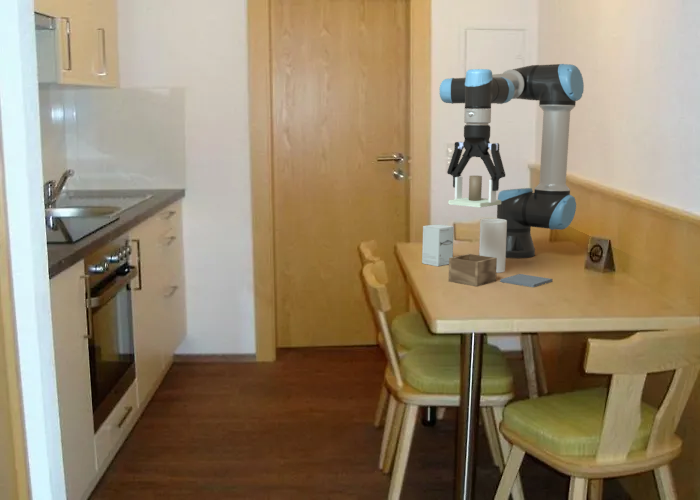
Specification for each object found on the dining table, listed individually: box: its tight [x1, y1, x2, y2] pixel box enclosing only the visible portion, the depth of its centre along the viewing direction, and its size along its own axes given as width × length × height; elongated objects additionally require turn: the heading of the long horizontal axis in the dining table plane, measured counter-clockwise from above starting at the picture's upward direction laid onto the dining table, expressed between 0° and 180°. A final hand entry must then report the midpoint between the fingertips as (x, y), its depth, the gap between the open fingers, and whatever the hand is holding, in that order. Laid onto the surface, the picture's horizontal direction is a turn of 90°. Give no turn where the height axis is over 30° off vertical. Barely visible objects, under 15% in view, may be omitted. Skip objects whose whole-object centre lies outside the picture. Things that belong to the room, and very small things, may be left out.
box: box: [448, 253, 497, 287], centre depth 245 cm, size 10×10×7 cm
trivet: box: [499, 273, 553, 288], centre depth 245 cm, size 11×11×1 cm
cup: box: [478, 218, 507, 274], centre depth 261 cm, size 8×8×16 cm
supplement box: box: [421, 224, 455, 267], centre depth 272 cm, size 7×7×13 cm
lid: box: [448, 175, 501, 208], centre depth 241 cm, size 11×11×8 cm
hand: (474, 200), depth 241 cm, fingers closed on lid, 11 cm apart
